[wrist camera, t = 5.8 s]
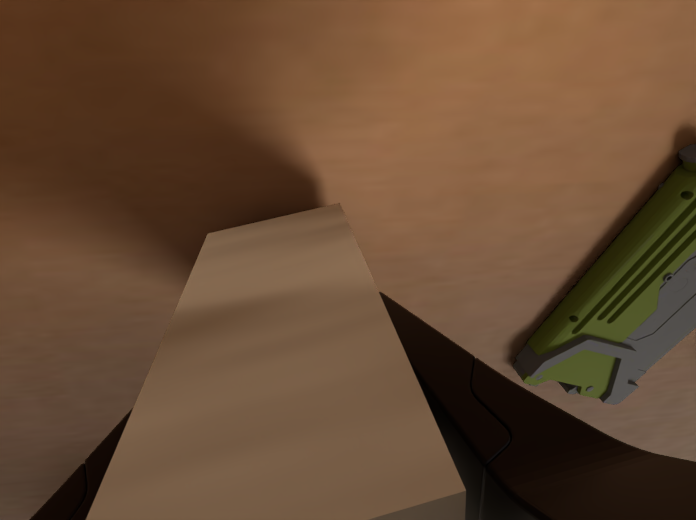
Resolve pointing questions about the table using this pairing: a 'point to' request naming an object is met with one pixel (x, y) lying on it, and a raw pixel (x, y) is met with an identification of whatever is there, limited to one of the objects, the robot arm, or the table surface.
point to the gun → (625, 301)
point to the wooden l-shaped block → (281, 393)
